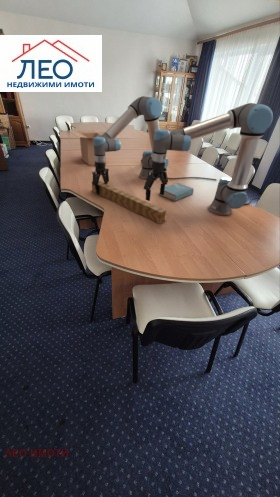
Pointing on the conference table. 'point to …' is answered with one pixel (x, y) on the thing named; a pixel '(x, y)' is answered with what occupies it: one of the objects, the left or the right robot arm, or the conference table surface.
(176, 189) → the book
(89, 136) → the box
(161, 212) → the post
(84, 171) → the conference table surface
